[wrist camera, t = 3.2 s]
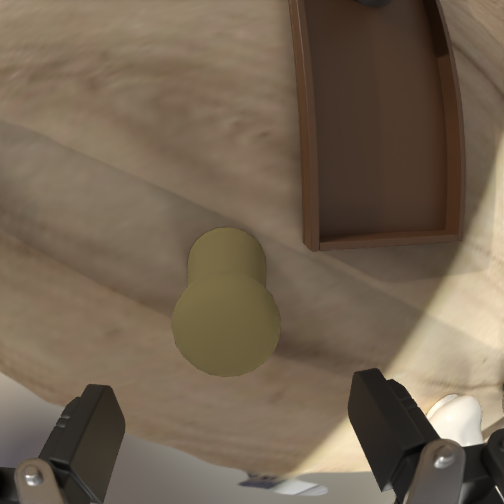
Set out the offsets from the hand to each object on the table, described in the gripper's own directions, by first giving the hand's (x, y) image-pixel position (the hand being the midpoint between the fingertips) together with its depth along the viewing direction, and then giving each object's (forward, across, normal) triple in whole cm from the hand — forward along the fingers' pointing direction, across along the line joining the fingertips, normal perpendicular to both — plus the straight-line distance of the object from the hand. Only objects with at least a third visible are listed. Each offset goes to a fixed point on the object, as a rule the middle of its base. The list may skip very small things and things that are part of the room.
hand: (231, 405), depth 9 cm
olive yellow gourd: (+15, 0, 0) cm, 15 cm away
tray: (+15, -13, -18) cm, 27 cm away
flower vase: (+15, -27, +24) cm, 39 cm away
